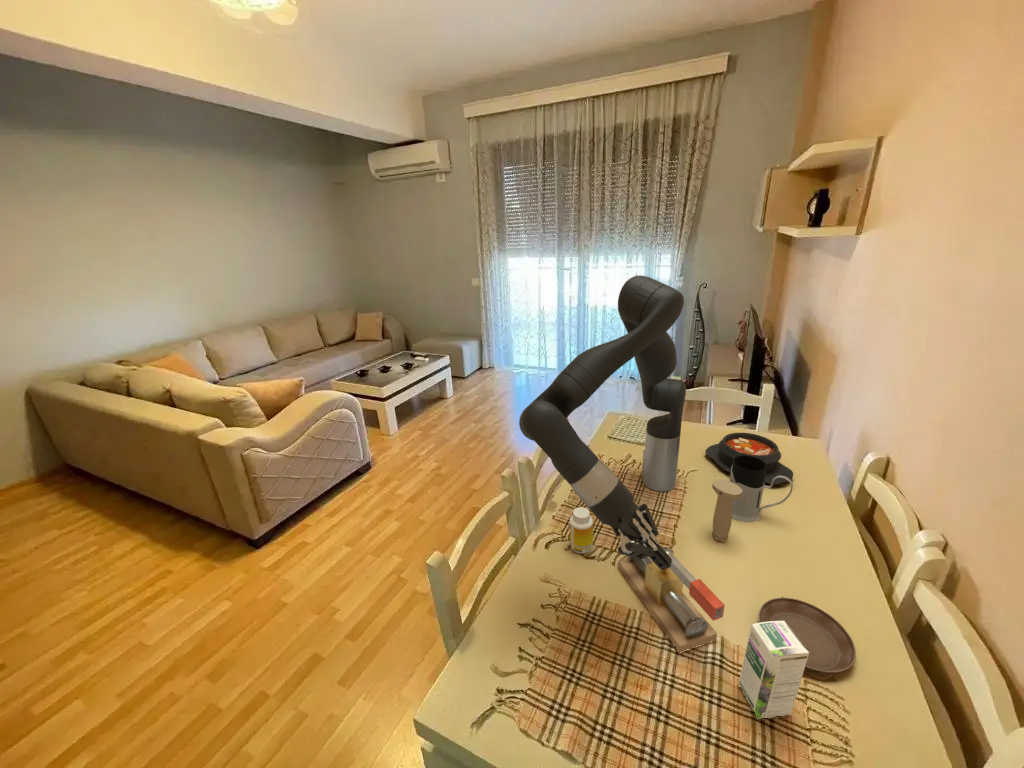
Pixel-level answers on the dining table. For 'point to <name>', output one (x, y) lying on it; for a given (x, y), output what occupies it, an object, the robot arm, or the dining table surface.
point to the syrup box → (772, 668)
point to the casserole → (750, 454)
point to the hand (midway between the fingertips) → (667, 565)
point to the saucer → (813, 633)
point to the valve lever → (697, 588)
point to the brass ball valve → (670, 595)
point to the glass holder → (750, 487)
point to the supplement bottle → (581, 530)
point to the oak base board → (664, 610)
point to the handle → (724, 507)
